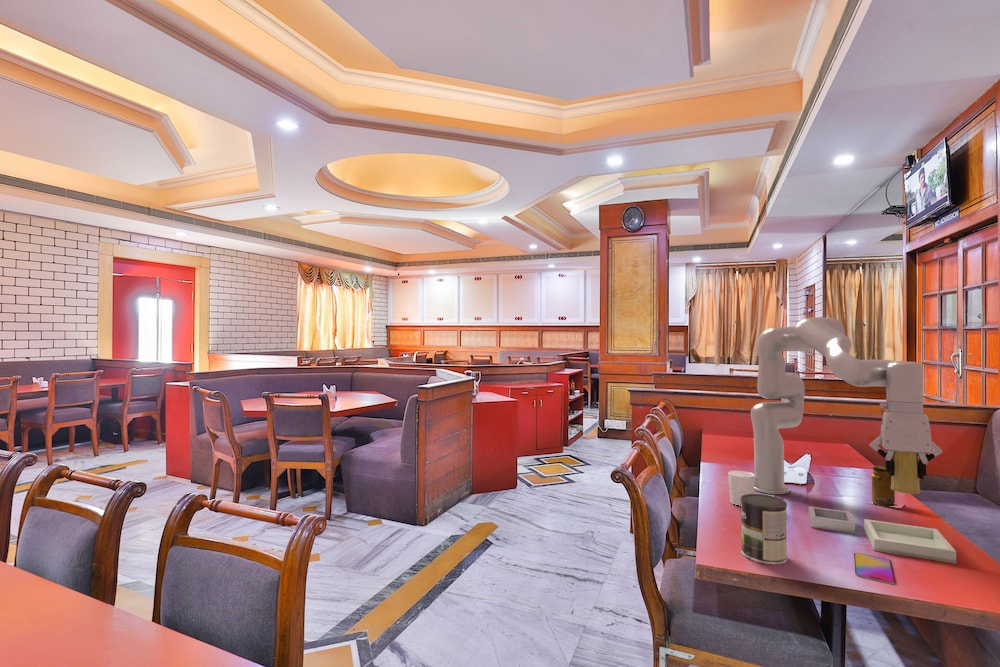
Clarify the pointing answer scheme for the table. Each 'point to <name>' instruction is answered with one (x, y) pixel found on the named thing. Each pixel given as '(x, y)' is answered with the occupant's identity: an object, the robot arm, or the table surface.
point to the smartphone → (873, 568)
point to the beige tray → (909, 541)
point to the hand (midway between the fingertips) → (905, 475)
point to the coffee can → (764, 528)
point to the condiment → (882, 487)
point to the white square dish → (831, 520)
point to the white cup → (740, 485)
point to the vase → (905, 473)
